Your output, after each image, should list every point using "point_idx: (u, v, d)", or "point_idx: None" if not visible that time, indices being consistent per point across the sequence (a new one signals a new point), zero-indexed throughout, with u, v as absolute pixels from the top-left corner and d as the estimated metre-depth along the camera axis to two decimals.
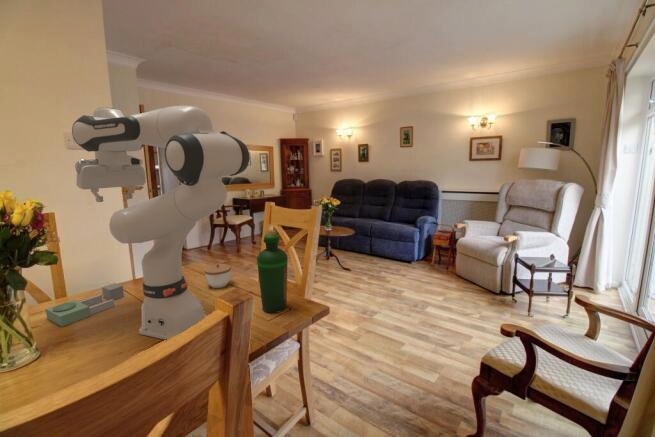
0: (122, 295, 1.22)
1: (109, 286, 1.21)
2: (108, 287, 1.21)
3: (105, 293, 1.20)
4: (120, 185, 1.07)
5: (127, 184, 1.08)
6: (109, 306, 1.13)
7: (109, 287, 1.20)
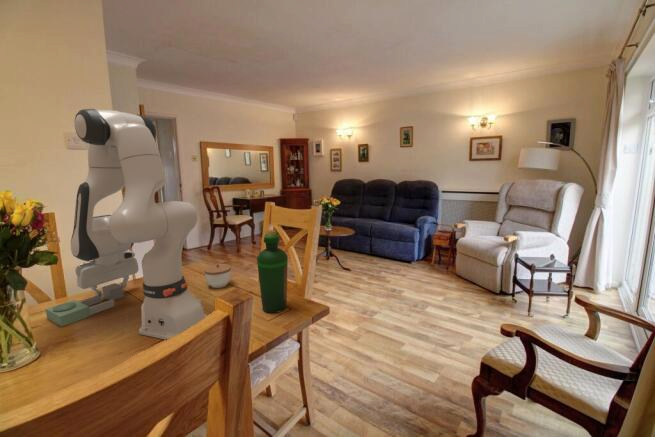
0: (122, 295, 1.22)
1: (109, 286, 1.21)
2: (108, 286, 1.21)
3: (105, 293, 1.20)
4: (115, 278, 1.21)
5: (121, 276, 1.22)
6: (109, 306, 1.13)
7: (109, 287, 1.20)
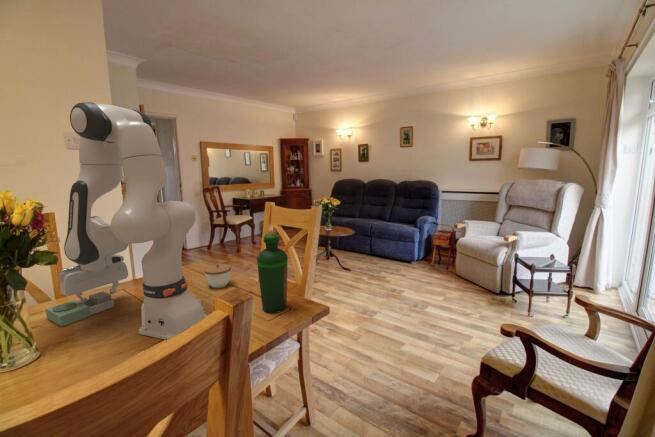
0: None
1: (96, 295, 1.13)
2: (95, 295, 1.13)
3: (92, 302, 1.12)
4: (103, 284, 1.13)
5: (109, 281, 1.15)
6: (109, 306, 1.13)
7: (96, 296, 1.12)
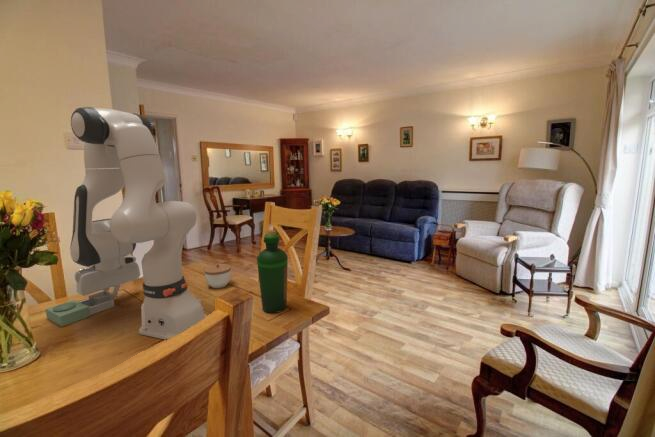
0: None
1: (96, 295, 1.13)
2: (95, 295, 1.13)
3: (92, 302, 1.12)
4: (116, 284, 1.17)
5: (122, 281, 1.19)
6: (109, 306, 1.13)
7: (96, 296, 1.12)
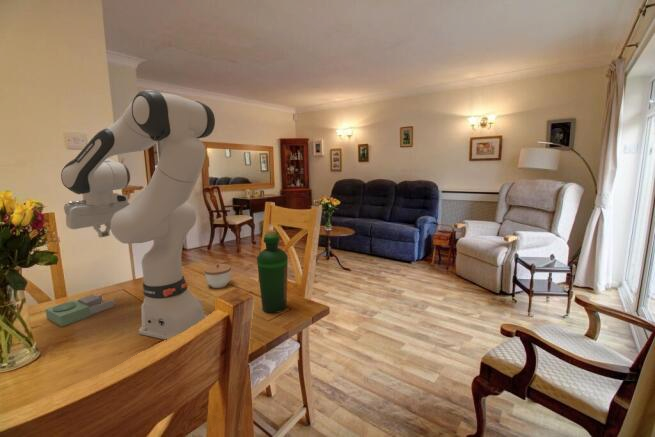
0: None
1: (85, 298, 1.11)
2: (85, 299, 1.10)
3: None
4: (108, 222, 1.13)
5: None
6: (109, 306, 1.13)
7: (85, 300, 1.09)
